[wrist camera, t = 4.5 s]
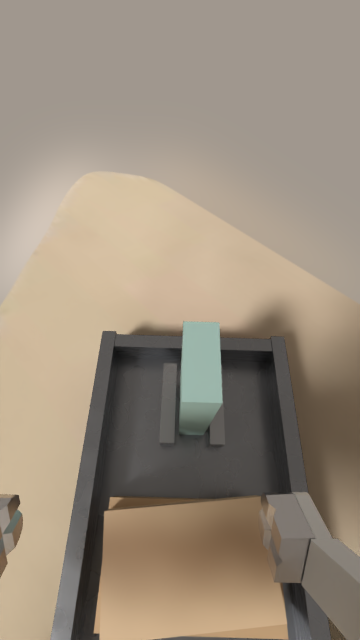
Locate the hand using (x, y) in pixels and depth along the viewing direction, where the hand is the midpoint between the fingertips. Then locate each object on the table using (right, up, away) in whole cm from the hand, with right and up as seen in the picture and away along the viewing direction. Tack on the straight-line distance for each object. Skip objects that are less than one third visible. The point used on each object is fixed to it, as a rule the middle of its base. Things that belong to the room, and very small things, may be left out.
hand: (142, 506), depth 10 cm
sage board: (+2, 0, +13) cm, 13 cm away
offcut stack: (+2, -8, +8) cm, 12 cm away
